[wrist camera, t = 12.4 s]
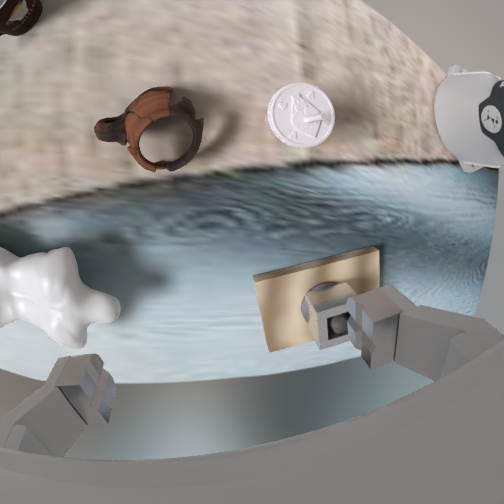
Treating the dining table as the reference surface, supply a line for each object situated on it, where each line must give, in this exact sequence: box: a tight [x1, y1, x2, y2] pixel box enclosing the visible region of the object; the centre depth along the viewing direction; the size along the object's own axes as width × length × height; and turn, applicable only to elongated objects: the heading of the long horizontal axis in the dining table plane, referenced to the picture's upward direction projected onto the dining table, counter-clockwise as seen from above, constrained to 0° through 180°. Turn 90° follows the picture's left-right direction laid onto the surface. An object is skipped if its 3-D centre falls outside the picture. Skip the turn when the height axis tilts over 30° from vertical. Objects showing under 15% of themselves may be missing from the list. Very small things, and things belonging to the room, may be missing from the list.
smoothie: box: [264, 83, 335, 148], centre depth 27 cm, size 6×6×14 cm
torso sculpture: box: [0, 247, 121, 349], centre depth 31 cm, size 16×11×30 cm
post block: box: [253, 246, 379, 352], centre depth 40 cm, size 18×12×8 cm, turn 101°
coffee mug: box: [0, 0, 42, 36], centre depth 17 cm, size 12×9×10 cm
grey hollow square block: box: [304, 282, 357, 350], centre depth 38 cm, size 6×6×5 cm
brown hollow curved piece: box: [94, 87, 203, 172], centre depth 30 cm, size 12×10×8 cm
